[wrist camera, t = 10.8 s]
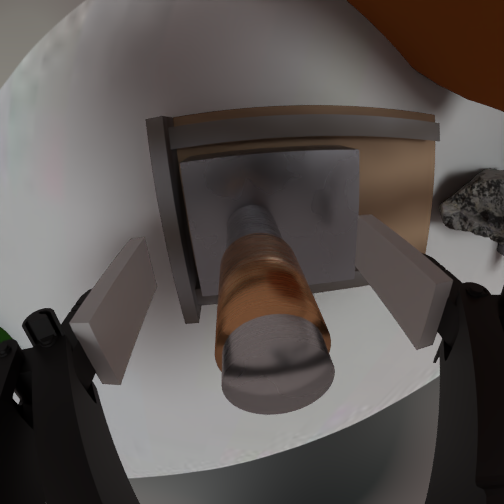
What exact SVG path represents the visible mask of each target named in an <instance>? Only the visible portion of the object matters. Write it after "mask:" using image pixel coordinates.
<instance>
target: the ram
mask: <svg viewBox="0 0 504 504" xmlns="http://www.w3.org/2000/svg"><path fill="white" fill-rule="evenodd" d="M180 168H181V176H182V182H183V189H184V196H185V202H186V209H187V215H188V221H189V227H190V233H191V238H192V244H193V250H194V255H195V260H196V266H197V271H198V276H199V281H200V286H201V291H202V296H213V295H218V306H217V323H216V340H215V360H216V363H217V365H218V367H219V369H220V370H221V372H222V390H223V393H224V395H225V397H226V398H227V399H228V400H229V402H231V403H232V404H233V405H235V406H236V407H238V408H240V409H242V410H245V411H248V412H251V413H256V414H267V415H268V414H282V413H287V412H292V411H295V410H298V409H301V408H303V407H305V406H307V405H309V404H311V403H313V402H314V401H316V400H317V399H319V398H320V397H321V396H322V395H323V394H324V393H325V392H326V391H327V390H328V389H329V387H330V386H331V384H332V382H333V379H334V373H335V370H334V365H333V363H332V360H331V357H330V355H329V352H330V347H331V339H330V334H329V331H328V329H327V326H326V324H325V322H324V319H323V317H322V315H321V312H320V310H319V308H318V306H317V303H316V301H315V299H314V296H313V294H312V292H311V290H310V287H309V285H313V284H321V283H329V282H336V281H343V280H350V279H354V277H355V256H356V241H357V223H358V215H359V150H358V149H354V148H350V147H346V146H341V145H309V146H287V147H271V148H258V149H247V150H236V151H227V152H218V153H210V154H202V155H195V156H189V157H188V158H186V159H185V160H183V161H182V162H180Z"/></svg>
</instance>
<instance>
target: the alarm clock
mask: <svg viewBox="0 0 504 504" xmlns="http://www.w3.org/2000/svg"><path fill="white" fill-rule="evenodd" d="M347 1H348V2H349V3H350V4H351V5H352V6H354V7H355V8H356V9H357V10H358V11H359V12H360V13H361V14H362V15H364V16H365V17H366V18H367V19H368V20H369V21H370V22H371V23H372V24H373V25H374V26H375V27H376V28H377V29H378V30H379V31H380V32H381V33H382V34H383V35H384V36H385V37H386V38H387V39H388V40H389V41H390V42H391V44H392V45H393V46H394V47H395V48H396V49H397V50H398V51H399V52H400V54H401V55H402V56H403V57H404V58H405V59H406V60H407V62H408V63H409V64H410V65H411V66H412V68H414V69H415V70H416V71H418V72H419V73H421V74H422V75H424V76H425V77H427V78H429V79H430V80H432V81H433V82H435V83H436V84H438V85H439V86H442V87H444V88H446V89H448V90H450V91H452V92H454V93H456V94H458V95H460V96H462V97H464V98H466V99H468V100H471V101H474V102H477V103H481V104H484V105H487V106H489V107H492V108H495V109H498V110H501V111H503V112H504V0H347Z"/></svg>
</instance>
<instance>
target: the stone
mask: <svg viewBox="0 0 504 504" xmlns="http://www.w3.org/2000/svg"><path fill="white" fill-rule="evenodd" d="M439 209H440V212H441V216H442V220H443V223H444V224H445V226H447V227H448V228H450V229H454V230H462V231H470V232H472V233H474V234H475V235H480V236H483V237H490V239H491V240H493V241H495V242H498V243H499V244H502V245H504V170H497V169H491V168H489V169H486V170H483V171H482V172H480V173H479V174H477V175H476V176H475V177H474V178H473V179H472V180H471V181H470V182H469V183H468V184H466V185H464V186H463V187H462V188H461V189H460V190H459V191H458V192H457V193H455V194H454V195H453V196H452V197H450V198H448V199H447V200H446V201H445V202H443V203H442V204H441V205H440V206H439Z"/></svg>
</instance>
